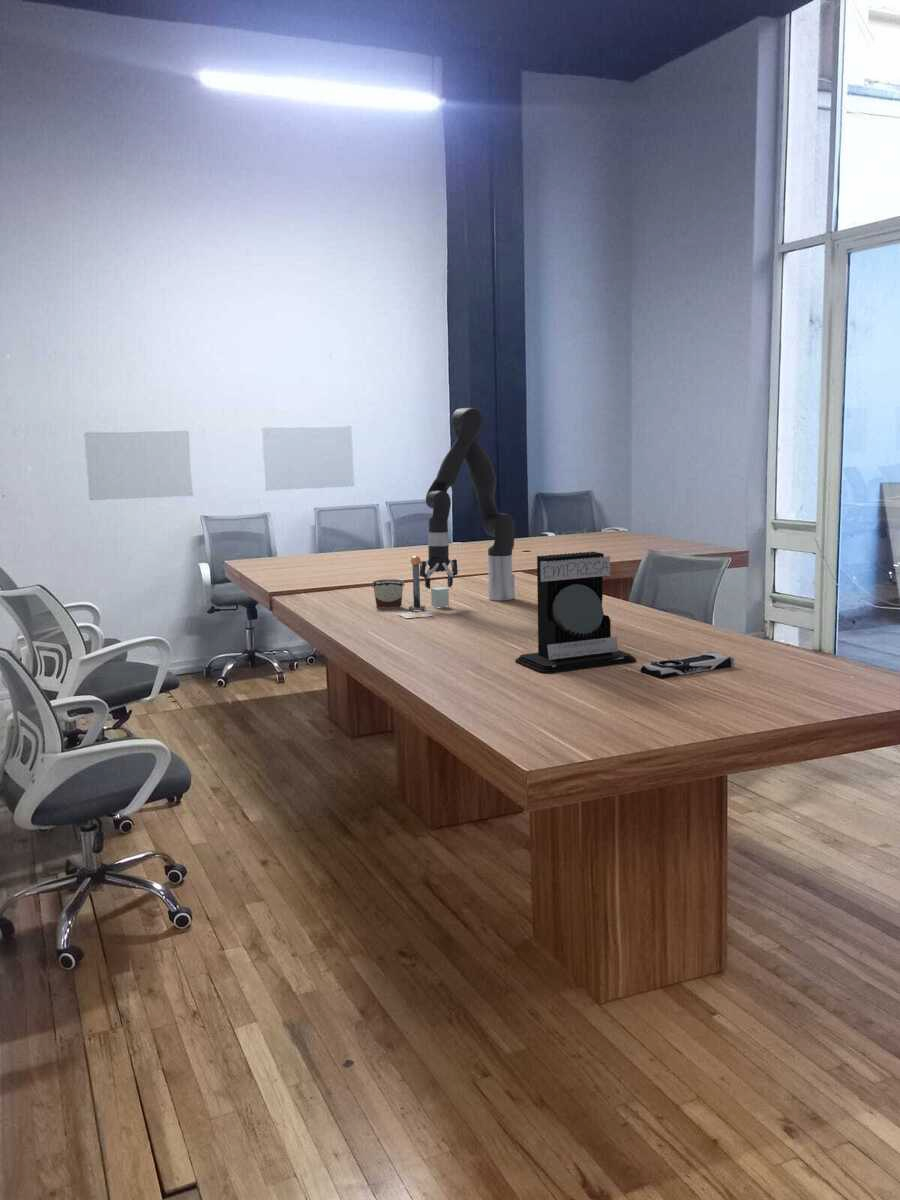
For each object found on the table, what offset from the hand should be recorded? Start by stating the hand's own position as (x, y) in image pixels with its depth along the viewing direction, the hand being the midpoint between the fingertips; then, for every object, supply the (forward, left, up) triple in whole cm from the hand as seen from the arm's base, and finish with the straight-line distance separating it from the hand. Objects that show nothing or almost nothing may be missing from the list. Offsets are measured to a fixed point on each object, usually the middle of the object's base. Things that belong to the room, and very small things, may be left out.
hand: (438, 587), depth 378 cm
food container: (+16, -11, -8) cm, 21 cm away
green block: (0, 0, -7) cm, 7 cm away
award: (+1, +104, -8) cm, 104 cm away
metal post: (+10, +2, -7) cm, 12 cm away
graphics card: (-20, +126, -8) cm, 128 cm away
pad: (+15, +13, -7) cm, 21 cm away
